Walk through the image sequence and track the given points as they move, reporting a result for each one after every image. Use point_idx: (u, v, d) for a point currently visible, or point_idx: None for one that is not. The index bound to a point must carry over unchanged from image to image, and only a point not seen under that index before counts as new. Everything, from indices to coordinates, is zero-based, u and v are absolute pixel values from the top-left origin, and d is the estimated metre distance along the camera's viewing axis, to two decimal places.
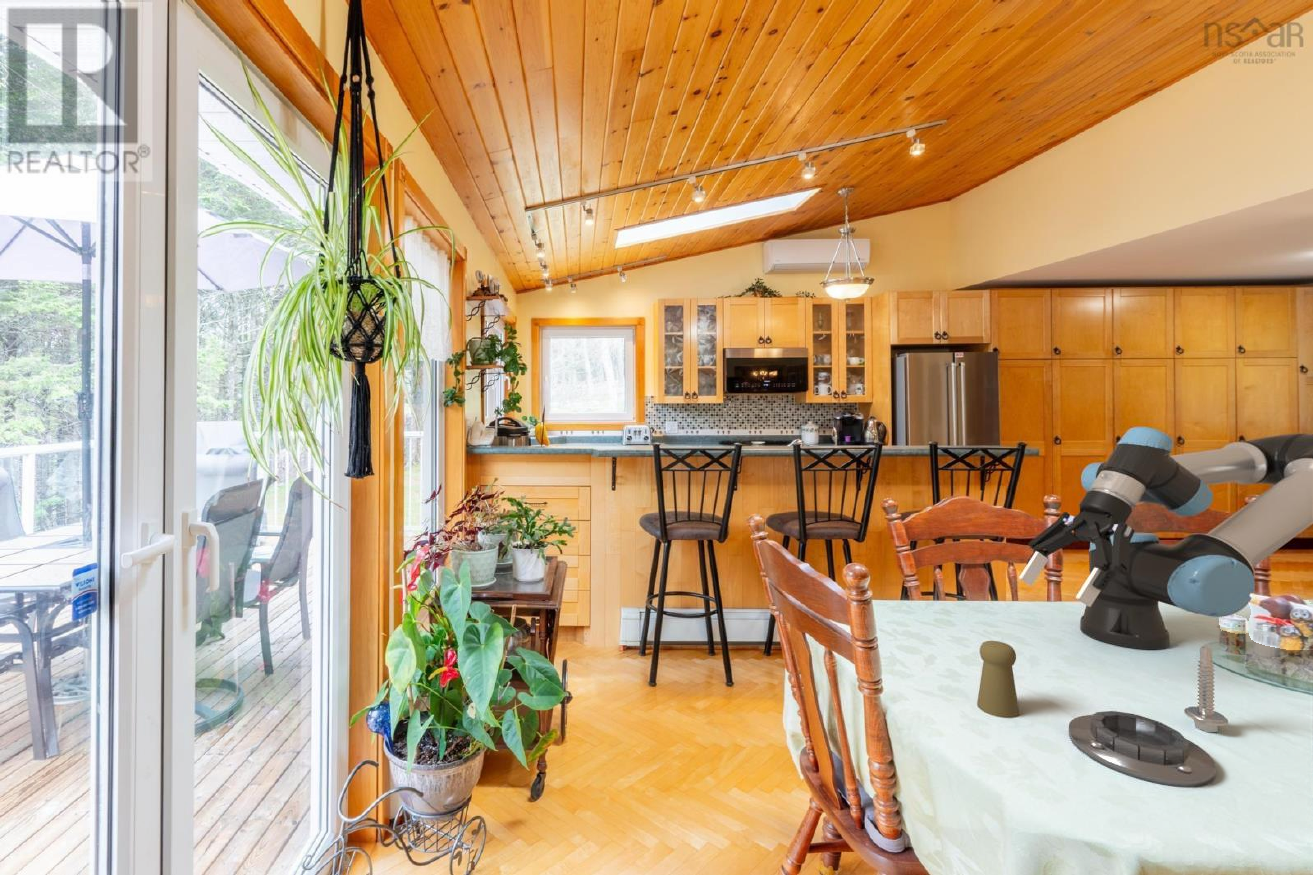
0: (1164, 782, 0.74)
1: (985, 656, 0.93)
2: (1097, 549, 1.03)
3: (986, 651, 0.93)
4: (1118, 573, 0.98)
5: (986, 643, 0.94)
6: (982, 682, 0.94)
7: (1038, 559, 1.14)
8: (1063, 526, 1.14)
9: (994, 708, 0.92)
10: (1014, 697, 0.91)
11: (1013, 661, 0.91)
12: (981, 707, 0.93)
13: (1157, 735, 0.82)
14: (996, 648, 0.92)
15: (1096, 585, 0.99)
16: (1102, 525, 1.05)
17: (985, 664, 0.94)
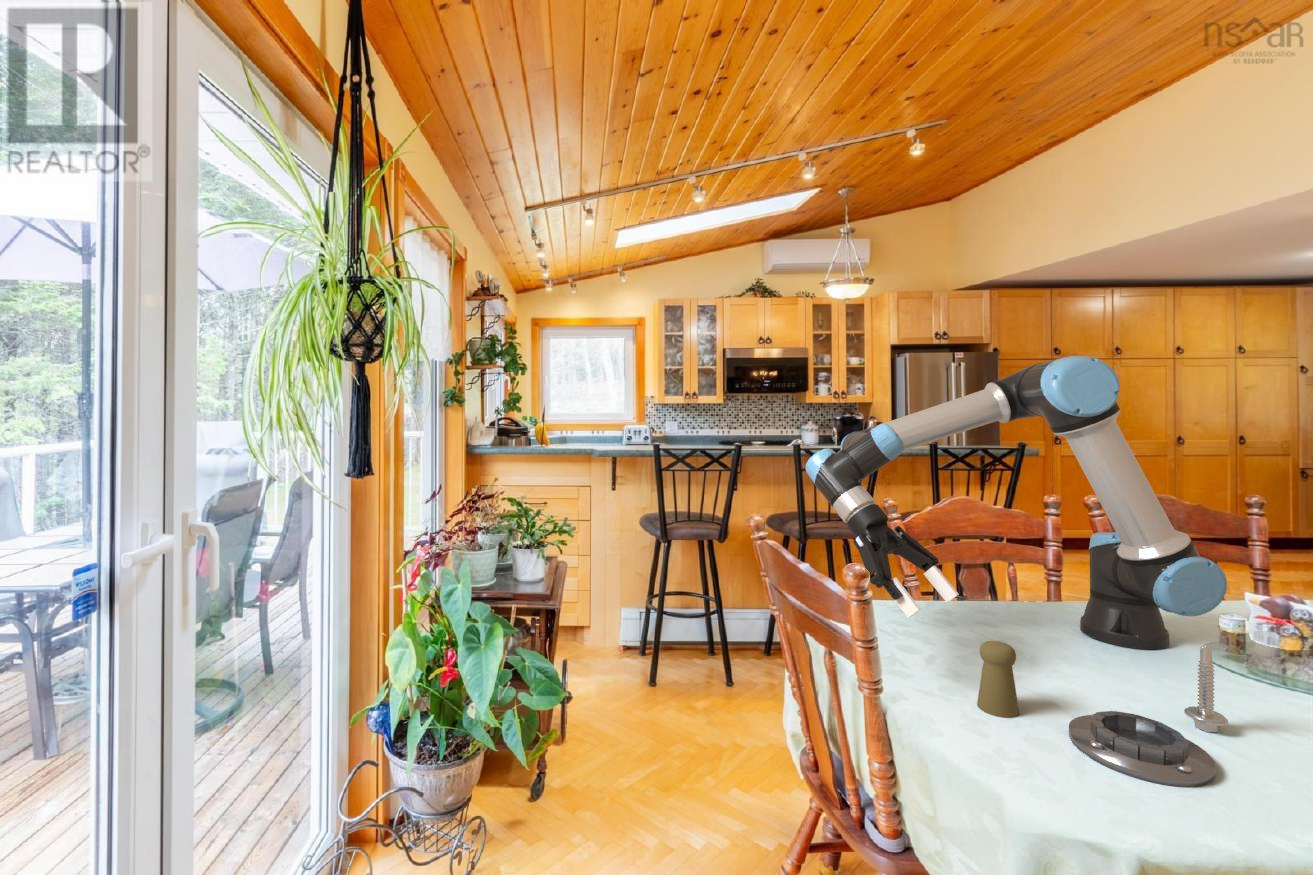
0: (1164, 782, 0.74)
1: (985, 656, 0.93)
2: None
3: (986, 651, 0.93)
4: (880, 580, 1.00)
5: (986, 643, 0.94)
6: (982, 682, 0.94)
7: (930, 576, 1.09)
8: None
9: (994, 708, 0.92)
10: (1014, 697, 0.91)
11: (1013, 661, 0.91)
12: (981, 707, 0.93)
13: (1157, 735, 0.82)
14: (996, 648, 0.92)
15: None
16: None
17: (985, 664, 0.94)
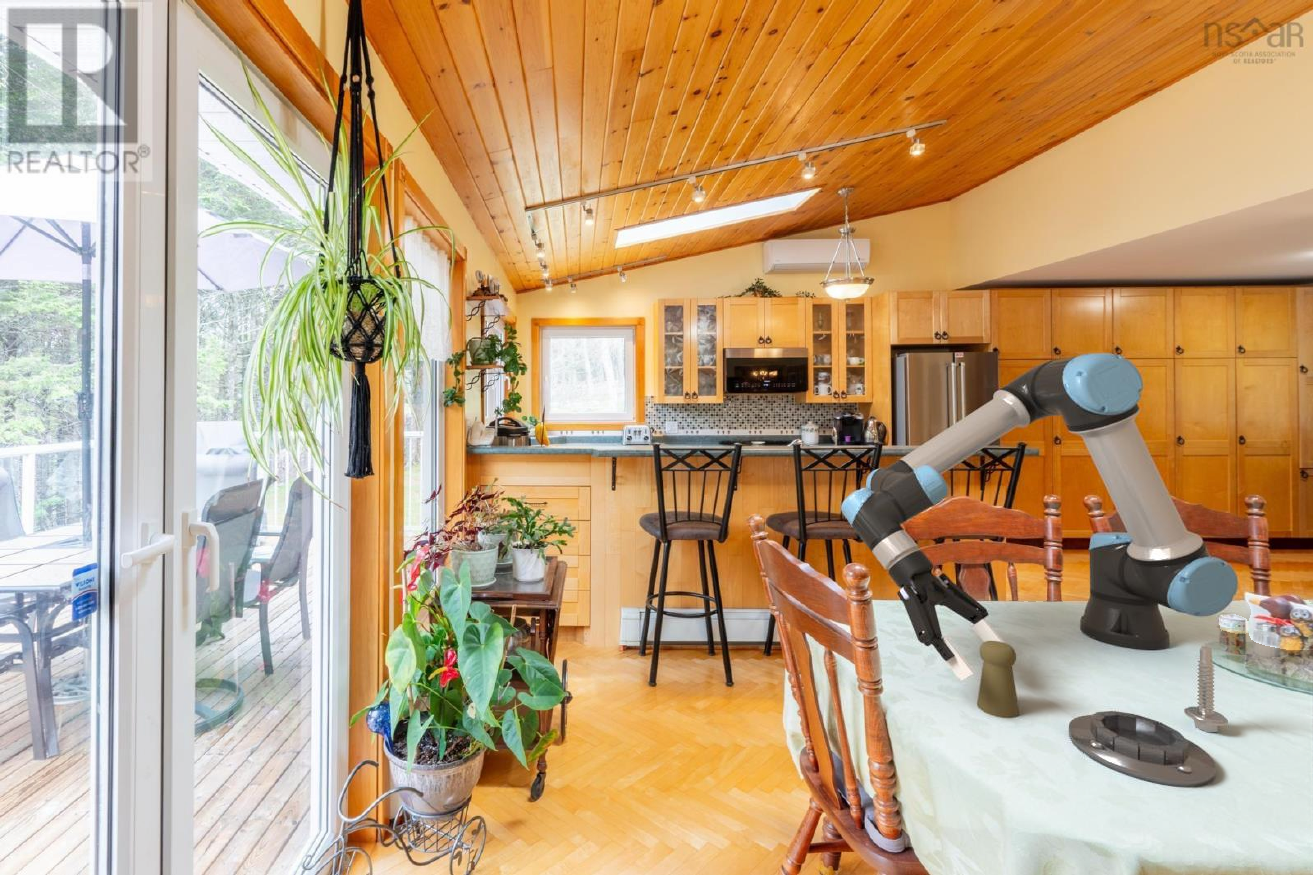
0: (1164, 782, 0.74)
1: (985, 656, 0.93)
2: None
3: (986, 651, 0.93)
4: (929, 639, 0.93)
5: (986, 643, 0.94)
6: (982, 682, 0.94)
7: (980, 630, 1.01)
8: None
9: (994, 708, 0.92)
10: (1014, 697, 0.91)
11: (1013, 661, 0.91)
12: (981, 707, 0.93)
13: (1157, 735, 0.82)
14: (996, 648, 0.92)
15: None
16: None
17: (985, 664, 0.94)
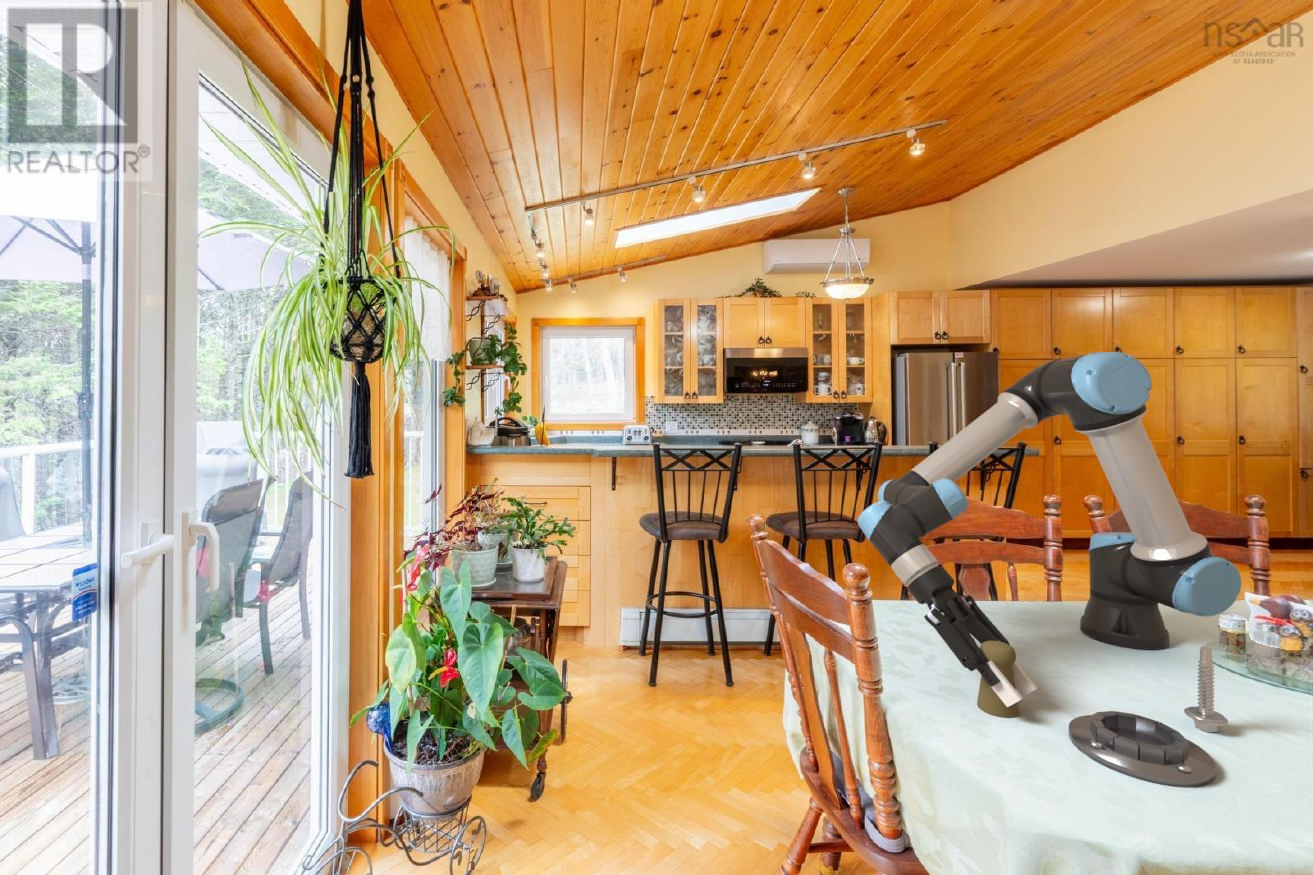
0: (1164, 782, 0.74)
1: (985, 656, 0.93)
2: None
3: (986, 651, 0.93)
4: (974, 664, 0.91)
5: (986, 643, 0.94)
6: (982, 682, 0.94)
7: None
8: None
9: (994, 708, 0.92)
10: None
11: (1013, 661, 0.91)
12: (981, 707, 0.93)
13: (1157, 735, 0.82)
14: (996, 648, 0.92)
15: (991, 685, 0.91)
16: None
17: None
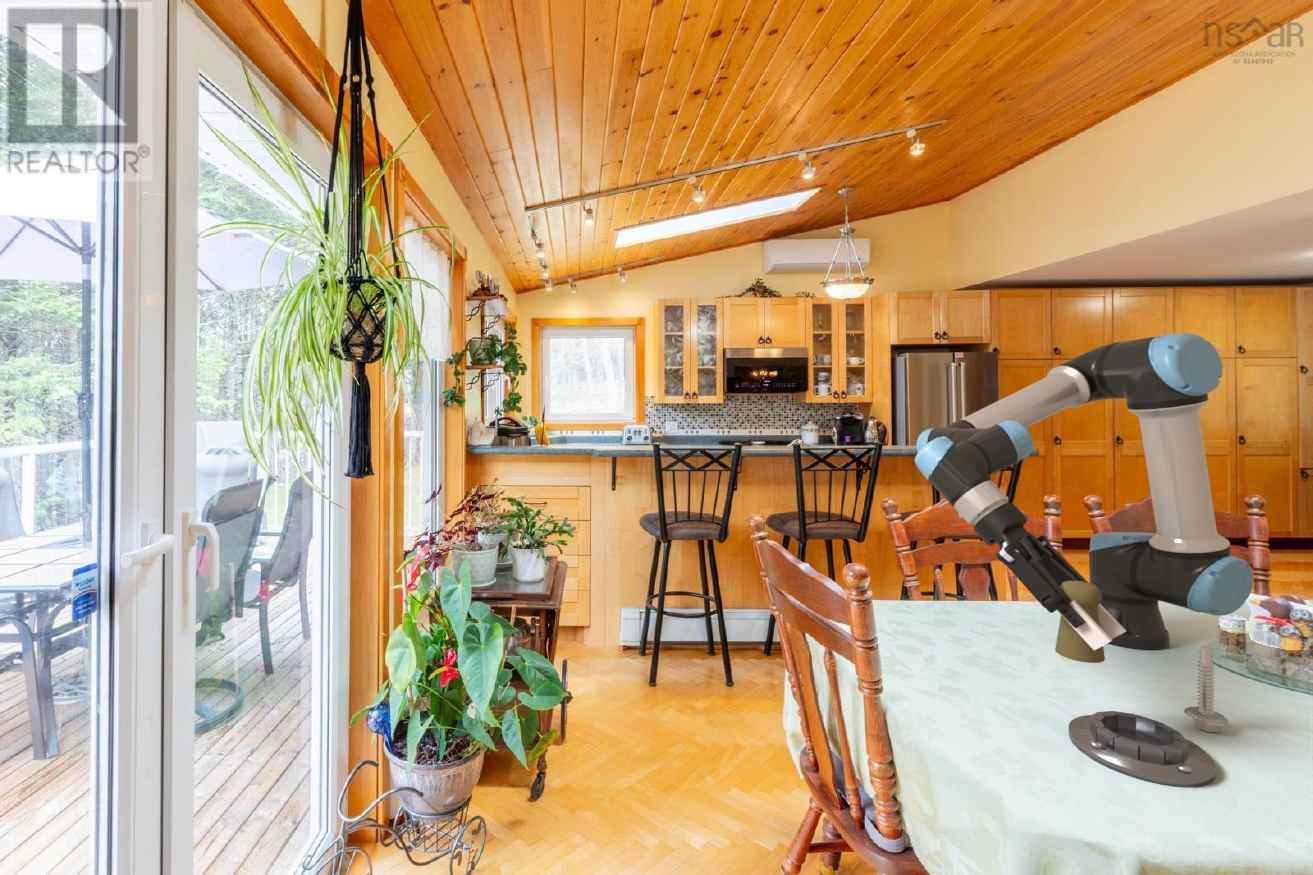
0: (1164, 782, 0.74)
1: None
2: None
3: (1067, 590, 0.84)
4: (1056, 604, 0.82)
5: (1067, 582, 0.85)
6: (1062, 625, 0.85)
7: None
8: None
9: (1077, 652, 0.83)
10: None
11: (1099, 601, 0.82)
12: (1061, 652, 0.85)
13: (1157, 735, 0.82)
14: (1079, 586, 0.83)
15: (1075, 627, 0.82)
16: None
17: None
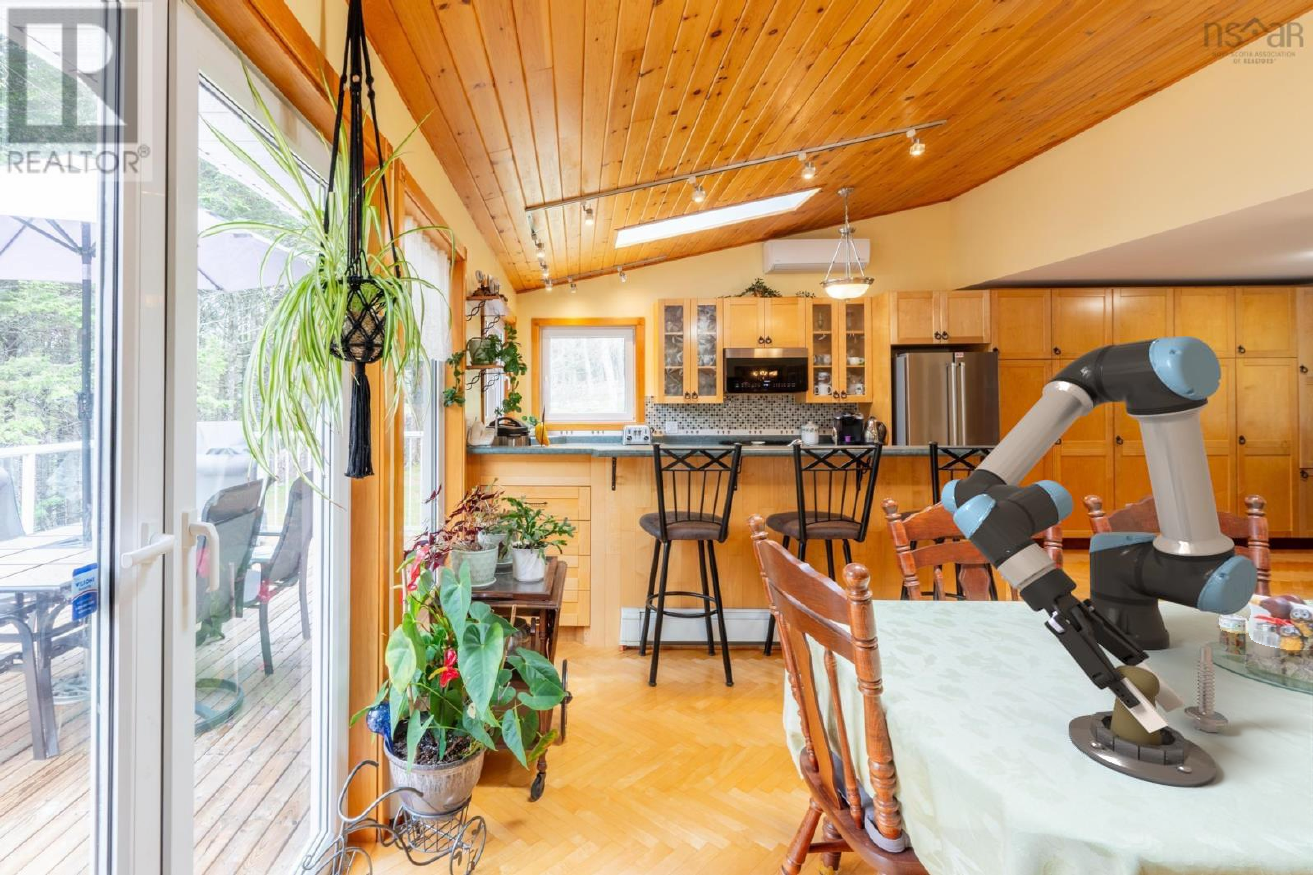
0: (1164, 782, 0.74)
1: None
2: None
3: None
4: (1108, 682, 0.78)
5: (1121, 668, 0.81)
6: (1117, 714, 0.81)
7: None
8: None
9: None
10: (1158, 732, 0.78)
11: (1158, 690, 0.78)
12: None
13: None
14: (1136, 675, 0.79)
15: None
16: None
17: None
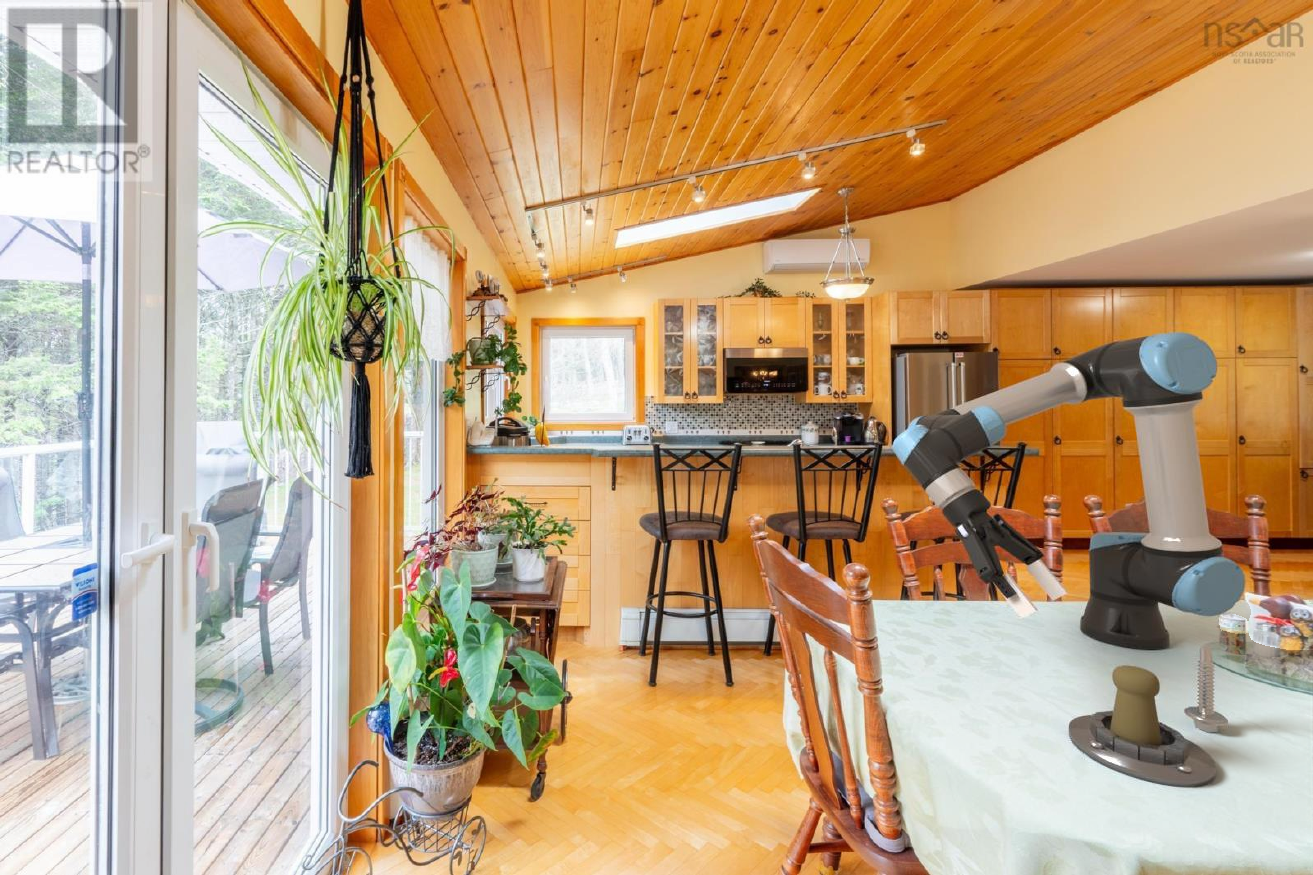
0: (1164, 782, 0.74)
1: (1123, 684, 0.80)
2: None
3: (1124, 678, 0.80)
4: (991, 576, 0.90)
5: (1121, 669, 0.81)
6: (1117, 714, 0.81)
7: (1034, 571, 0.99)
8: None
9: None
10: (1158, 732, 0.78)
11: (1158, 690, 0.78)
12: None
13: None
14: (1136, 675, 0.79)
15: None
16: None
17: (1121, 693, 0.80)
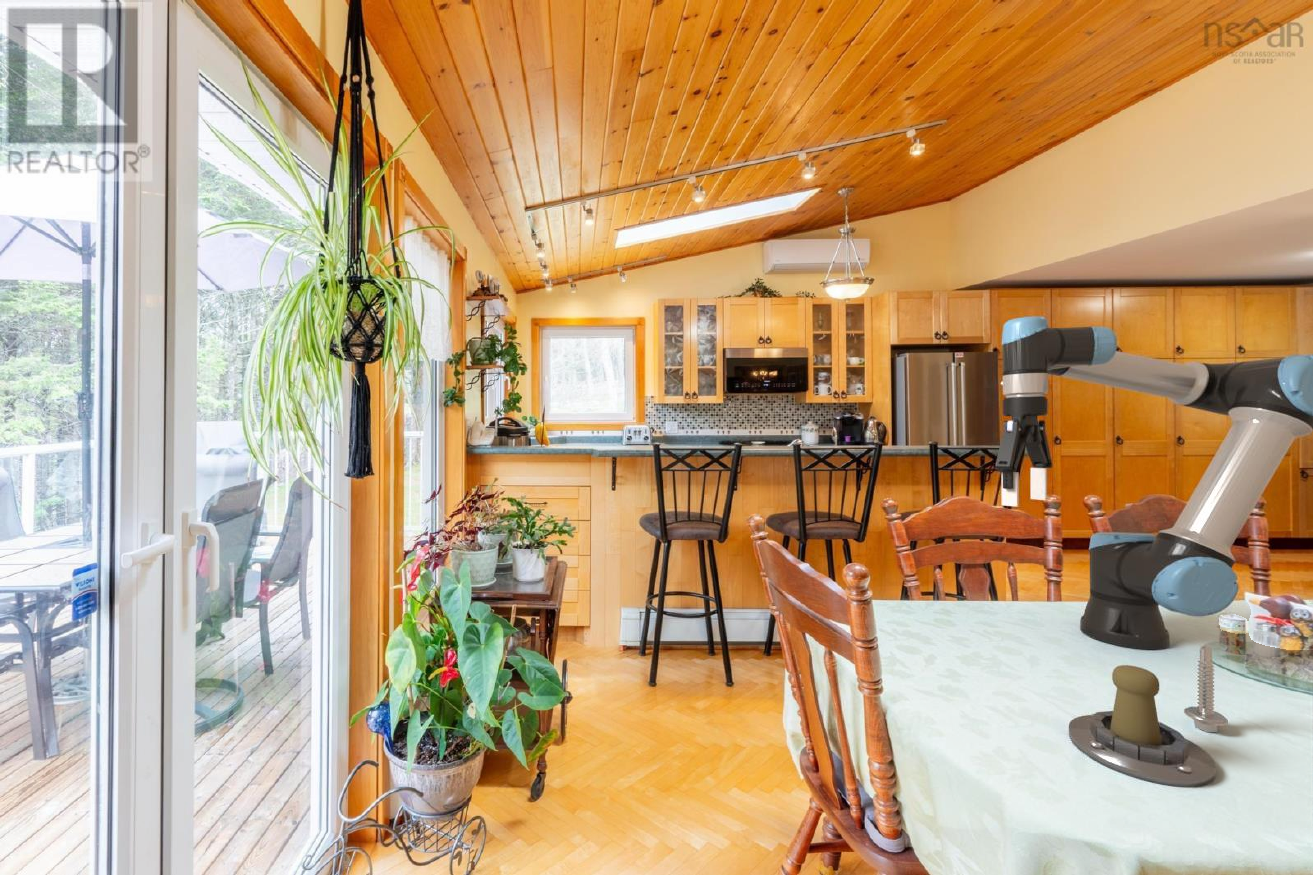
0: (1164, 782, 0.74)
1: (1122, 684, 0.80)
2: None
3: (1123, 678, 0.80)
4: (1005, 469, 1.06)
5: (1121, 668, 0.81)
6: (1117, 714, 0.81)
7: (1035, 474, 1.16)
8: None
9: None
10: (1158, 732, 0.78)
11: (1157, 690, 0.78)
12: None
13: None
14: (1136, 674, 0.79)
15: (1003, 487, 1.08)
16: None
17: (1121, 693, 0.80)
